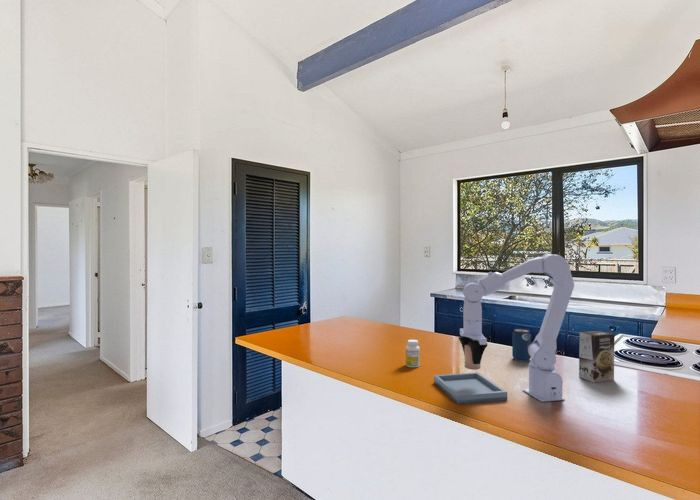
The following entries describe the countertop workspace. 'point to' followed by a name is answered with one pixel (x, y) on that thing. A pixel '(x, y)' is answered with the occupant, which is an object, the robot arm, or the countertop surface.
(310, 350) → the countertop surface
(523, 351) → the soda can
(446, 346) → the countertop surface
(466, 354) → the pillar candle
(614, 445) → the countertop surface
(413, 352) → the supplement bottle
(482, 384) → the tray
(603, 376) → the coffee box
